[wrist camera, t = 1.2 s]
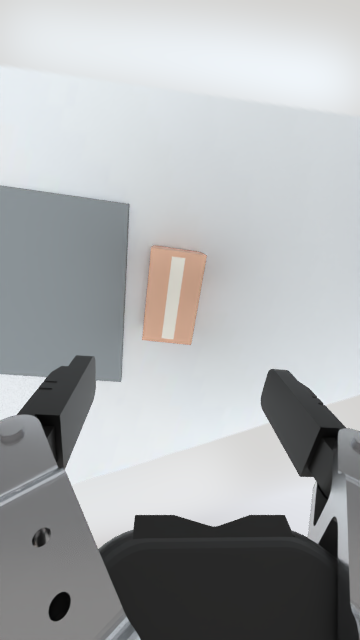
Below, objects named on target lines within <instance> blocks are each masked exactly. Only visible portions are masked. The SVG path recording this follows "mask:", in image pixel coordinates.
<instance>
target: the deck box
mask: <svg viewBox="0 0 360 640" xmlns="http://www.w3.org/2000/svg"><path fill="white" fill-rule="evenodd" d="M206 257H207V255H205V254H203V253H201V252H197V251H190V250H183V249H176V248H169V247H162V246H155V245H153V246H152V247H151V255H150V265H149V275H148V286H147V296H146V306H145V316H144V327H143V337H142V340H148V341H158V342H168V343H177V344H187V345H191V342H192V336H193V331H194V325H195V319H196V314H197V308H198V303H199V297H200V291H201V286H202V280H203V274H204V269H205V263H206Z"/></svg>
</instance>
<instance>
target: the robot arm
mask: <svg viewBox="0 0 360 640" xmlns="http://www.w3.org/2000/svg"><path fill="white" fill-rule="evenodd" d="M95 388H96V363H95V357H94V356H81V355H76V356H75V357H74V359H73V360H72V362H71V363H70V364H69V366H60V367H59V368H57V369H56V370H54V371H52V372H51V373H50V374H49V375H48V377H47V378H46V379H45V380H44V382H43V383H42V384H41V385H40V387H39V389H37V390H36V392H35V393H34V394H33V395H32V397H31V398H30V399H29V400H28V402H27V403H26V404H25V405H24V407H23V408H22V409H21V410H20V412H19V413H18V414H17V415H16V416H12V417H8V418H6V419H3V420H1V421H0V640H360V431H357V430H354V429H350V428H346V427H345V426H344V425H343V424H342V423H341V422H340V421H339V420H338V419H337V418H336V417H335V416H334V414H332V412H331V411H330V410H329V409H328V408H327V407H326V406H325V405H323V403H322V402H321V401H320V400H319V398H317V396H316V395H315V394H314V393H313V392H312V391H311V390H310V389H309V388H308V387H306V386H305V385H303V384H302V383H300V382H299V381H297V380H296V378H295V377H294V376H293V375H292V374H291V373H290V372H289V371H288V370H278V369H271V370H269V372H268V374H267V378H266V381H265V385H264V388H263V392H262V395H261V406H262V410H263V411H264V413H265V415H266V417H267V419H268V420H269V422H270V424H271V425H272V427H273V429H274V431H275V433H276V434H277V436H278V438H279V440H280V442H281V444H282V445H283V447H284V449H285V451H286V452H287V454H288V456H289V458H290V459H291V461H292V463H293V465H294V467H295V468H296V470H297V472H298V474H299V476H301V477H314V478H315V480H316V482H315V485H314V487H313V494H312V504H311V514H310V523H309V532H308V537H305V536H304V535H301V534H299V533H297V532H294V531H291V529H290V527H289V524H288V522H287V519H286V517H285V515H249V516H246V517H243V518H240V519H238V520H235V521H232V522H229V523H226V524H223V525H221V526H217V527H212V526H208V525H205V524H201V523H198V522H195V521H191V520H188V519H185V518H181V517H178V516H175V515H136V516H135V522H134V530H131V531H128V532H125V533H123V534H121V535H119V536H117V537H115V538H113V539H112V540H110V541H109V542H107V543H105V544H104V545H103V546H102V547H101V548H99V549H98V548H97V545H96V543H95V541H94V538H93V536H92V533H91V531H90V529H89V526H88V524H87V522H86V519H85V517H84V514H83V512H82V509H81V507H80V505H79V502H78V500H77V498H76V495H75V493H74V490H73V488H72V486H71V483H70V481H69V478H68V476H67V474H66V472H65V468H66V465H67V463H68V460H69V458H70V455H71V453H72V451H73V448H74V446H75V443H76V441H77V438H78V436H79V434H80V431H81V429H82V426H83V424H84V421H85V419H86V417H87V414H88V412H89V409H90V407H91V405H92V402H93V399H94V395H95Z"/></svg>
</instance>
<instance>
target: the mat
mask: <svg viewBox="0 0 360 640" xmlns="http://www.w3.org/2000/svg"><path fill="white" fill-rule="evenodd" d="M128 217H129V204H125V203H118V202H111V201H104V200H97V199H90V198H83V197H76V196H69V195H62V194H55V193H48V192H41V191H34V190H27V189H20V188H13V187H6V186H0V374H9V375H24V376H39V377H48V375H49V374H50V373H51V372H52V371H54V370H56V369H57V368H59V367H60V366H69V364H70V363H71V362H72V360H73V359H74V357H75V356H76V355H81V356H94V357H95V363H96V380H101V381H116V382H121V372H122V350H123V328H124V306H125V284H126V261H127V239H128Z"/></svg>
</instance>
